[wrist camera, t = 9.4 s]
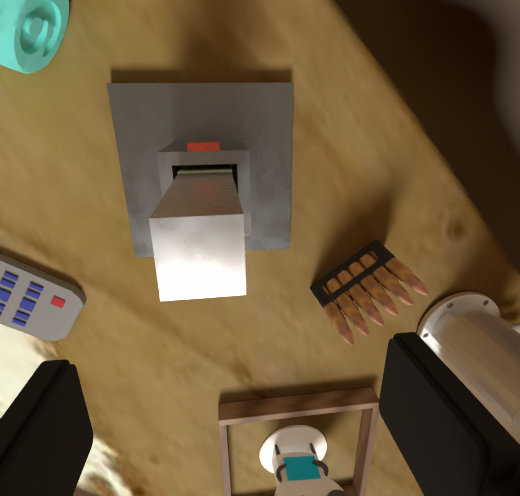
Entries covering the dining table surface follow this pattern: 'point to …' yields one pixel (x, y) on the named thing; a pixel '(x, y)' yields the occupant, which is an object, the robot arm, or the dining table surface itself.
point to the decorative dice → (31, 32)
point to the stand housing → (207, 149)
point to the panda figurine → (298, 462)
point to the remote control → (37, 301)
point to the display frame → (306, 407)
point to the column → (199, 235)
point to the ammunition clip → (365, 288)
